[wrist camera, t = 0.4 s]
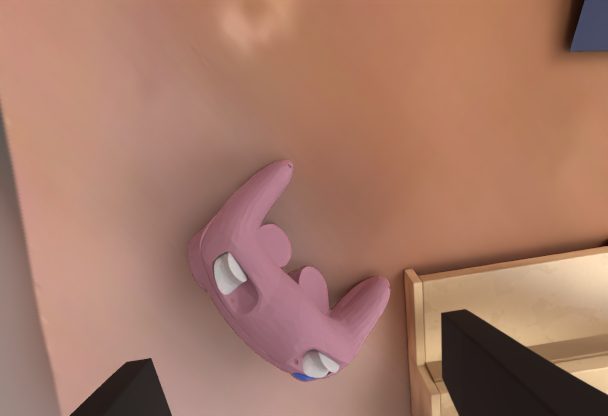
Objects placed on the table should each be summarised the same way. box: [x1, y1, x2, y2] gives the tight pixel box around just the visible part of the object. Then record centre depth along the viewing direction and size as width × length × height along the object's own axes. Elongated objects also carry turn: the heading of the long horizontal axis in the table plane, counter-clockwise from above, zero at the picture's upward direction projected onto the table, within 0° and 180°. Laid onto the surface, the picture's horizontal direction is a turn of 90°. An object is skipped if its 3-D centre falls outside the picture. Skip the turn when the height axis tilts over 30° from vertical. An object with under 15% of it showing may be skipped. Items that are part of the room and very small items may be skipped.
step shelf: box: [404, 246, 608, 416], centre depth 19 cm, size 14×12×4 cm
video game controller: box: [188, 160, 390, 382], centre depth 16 cm, size 10×5×7 cm, turn 38°
